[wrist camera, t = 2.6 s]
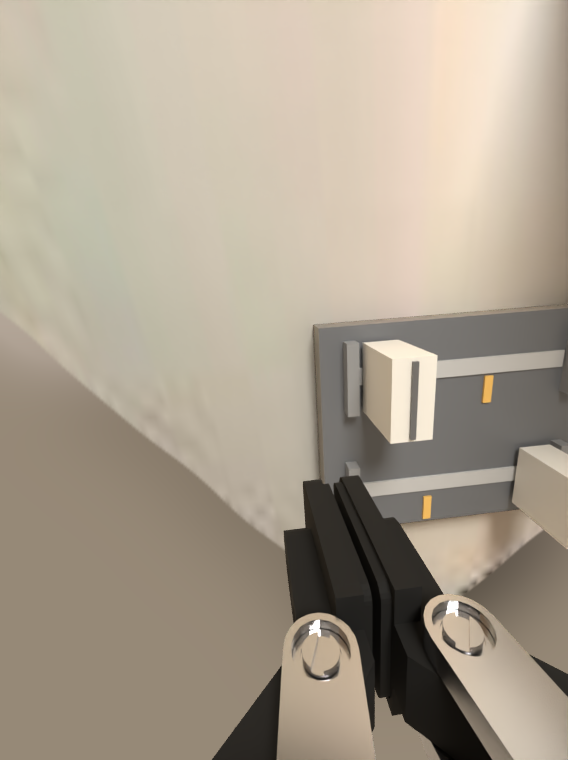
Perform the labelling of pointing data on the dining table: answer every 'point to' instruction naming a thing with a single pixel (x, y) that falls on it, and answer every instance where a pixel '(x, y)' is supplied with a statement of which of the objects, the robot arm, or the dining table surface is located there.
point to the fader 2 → (543, 489)
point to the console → (447, 408)
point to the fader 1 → (399, 390)
